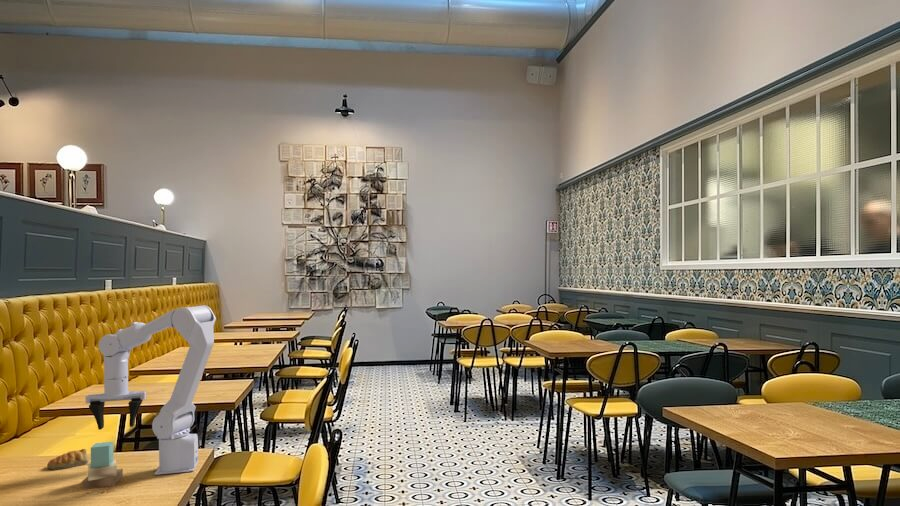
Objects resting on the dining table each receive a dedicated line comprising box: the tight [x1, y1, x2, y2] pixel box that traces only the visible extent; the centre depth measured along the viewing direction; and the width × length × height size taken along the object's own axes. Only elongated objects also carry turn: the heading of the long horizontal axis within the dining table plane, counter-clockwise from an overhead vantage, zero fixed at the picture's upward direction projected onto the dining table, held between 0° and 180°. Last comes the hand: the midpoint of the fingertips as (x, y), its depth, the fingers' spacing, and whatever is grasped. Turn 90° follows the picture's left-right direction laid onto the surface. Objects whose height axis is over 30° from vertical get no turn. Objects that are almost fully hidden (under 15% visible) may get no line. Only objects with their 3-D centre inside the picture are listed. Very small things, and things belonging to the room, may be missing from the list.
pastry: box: [46, 448, 89, 471], centre depth 159 cm, size 9×7×4 cm
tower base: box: [81, 468, 124, 490], centre depth 146 cm, size 7×7×2 cm
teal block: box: [90, 441, 114, 468], centre depth 146 cm, size 4×4×5 cm
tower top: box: [87, 459, 117, 481], centre depth 146 cm, size 6×6×2 cm
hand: (116, 427), depth 158 cm, fingers open, 7 cm apart
